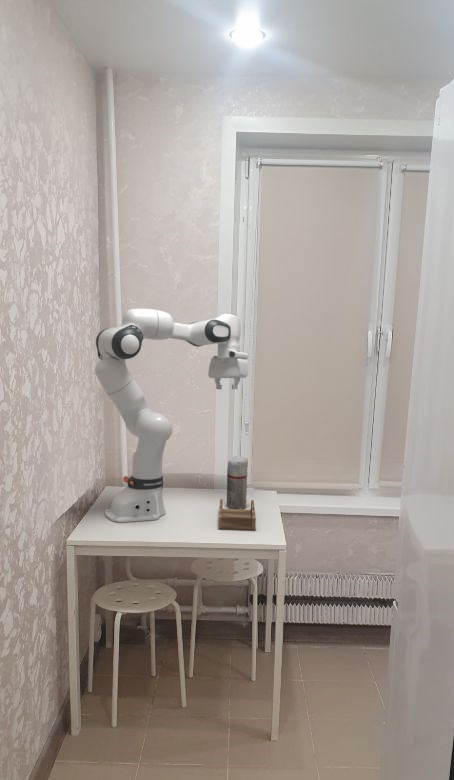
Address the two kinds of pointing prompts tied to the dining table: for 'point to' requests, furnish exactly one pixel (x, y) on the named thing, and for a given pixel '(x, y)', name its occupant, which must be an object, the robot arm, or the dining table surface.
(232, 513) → the walnut trough
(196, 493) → the dining table surface
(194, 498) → the dining table surface
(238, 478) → the spray can
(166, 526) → the dining table surface
